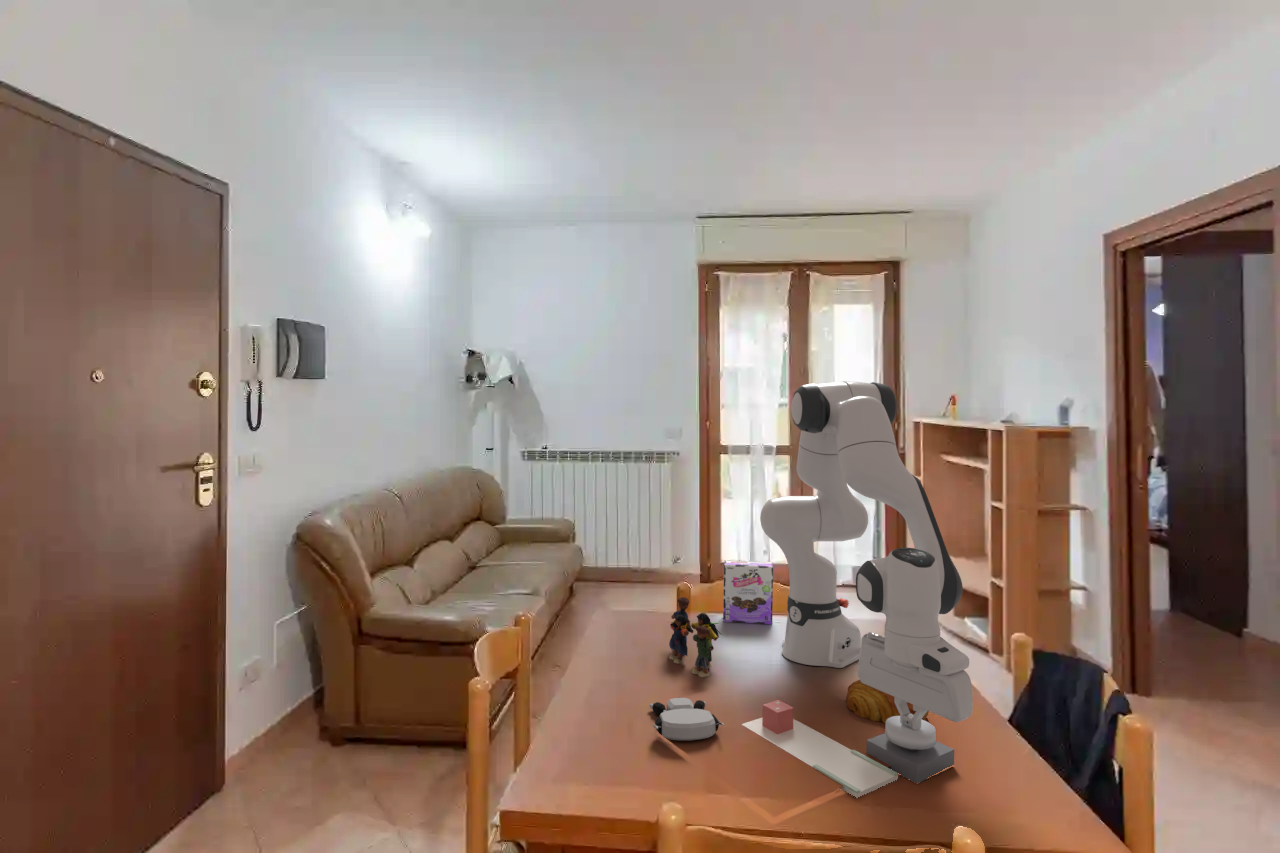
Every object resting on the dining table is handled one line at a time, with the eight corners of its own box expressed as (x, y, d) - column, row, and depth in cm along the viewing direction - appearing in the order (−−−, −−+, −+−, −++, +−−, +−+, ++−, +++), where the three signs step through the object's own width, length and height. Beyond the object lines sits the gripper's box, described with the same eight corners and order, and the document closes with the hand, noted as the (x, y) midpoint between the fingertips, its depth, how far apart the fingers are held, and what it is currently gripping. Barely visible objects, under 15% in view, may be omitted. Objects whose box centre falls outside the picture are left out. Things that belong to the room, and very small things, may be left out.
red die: (778, 720, 130) (778, 698, 130) (793, 728, 127) (793, 706, 127) (762, 725, 128) (762, 703, 128) (777, 734, 125) (777, 711, 125)
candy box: (722, 622, 192) (723, 564, 191) (723, 615, 198) (724, 559, 197) (772, 625, 190) (773, 566, 189) (772, 618, 195) (772, 561, 195)
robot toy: (646, 718, 135) (657, 751, 120) (646, 695, 135) (657, 724, 120) (707, 715, 136) (725, 747, 121) (707, 692, 136) (725, 721, 122)
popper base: (903, 742, 124) (903, 725, 124) (954, 766, 115) (954, 749, 115) (866, 757, 119) (866, 740, 118) (917, 784, 110) (917, 765, 110)
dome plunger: (904, 733, 122) (904, 711, 122) (945, 753, 116) (945, 729, 116) (875, 745, 118) (875, 722, 118) (915, 766, 111) (916, 742, 111)
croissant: (834, 714, 140) (830, 676, 139) (896, 693, 145) (892, 657, 144) (881, 746, 126) (876, 704, 126) (948, 722, 131) (943, 681, 131)
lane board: (780, 715, 134) (780, 710, 134) (897, 779, 111) (897, 773, 111) (729, 732, 127) (729, 726, 127) (843, 804, 104) (843, 797, 104)
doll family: (647, 650, 170) (647, 597, 169) (676, 643, 175) (676, 591, 174) (707, 681, 151) (708, 621, 150) (738, 672, 156) (738, 614, 156)
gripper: (850, 632, 123) (849, 707, 124) (955, 669, 106) (954, 756, 106) (873, 626, 127) (872, 700, 127) (979, 661, 110) (977, 746, 110)
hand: (910, 726), depth 117 cm, fingers closed
